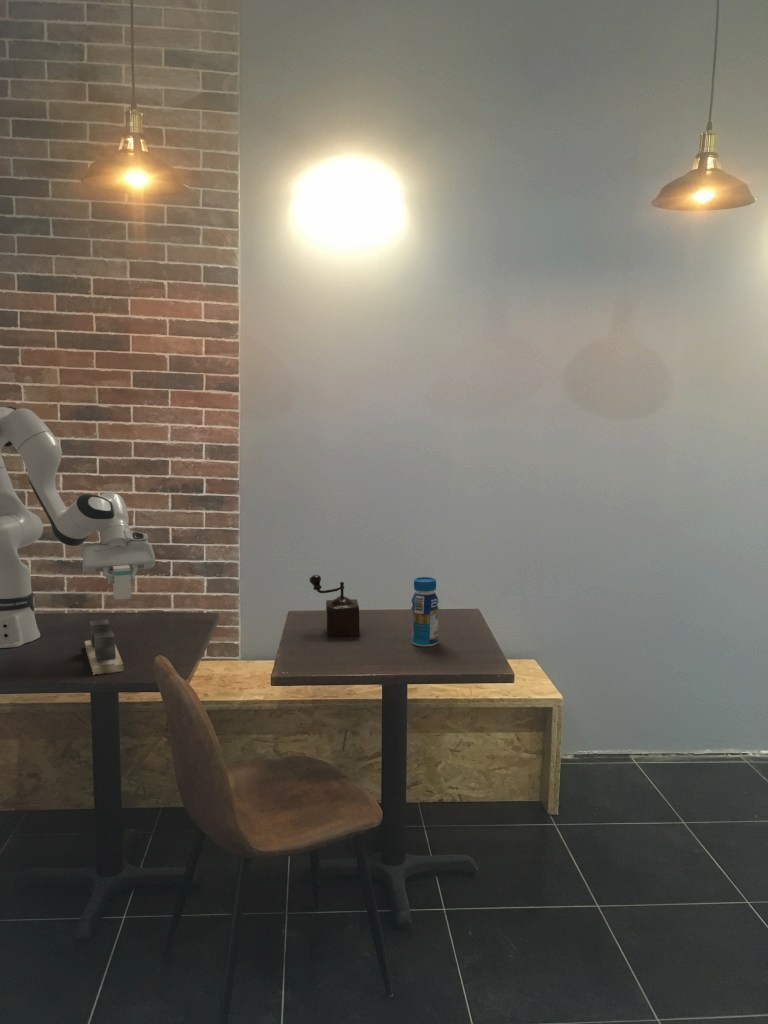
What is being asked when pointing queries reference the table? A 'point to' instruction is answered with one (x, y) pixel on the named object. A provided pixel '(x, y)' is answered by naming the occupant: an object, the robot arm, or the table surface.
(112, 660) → the rail board
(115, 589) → the block
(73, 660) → the table surface
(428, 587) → the beverage bottle
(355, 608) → the manual coffee grinder
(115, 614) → the table surface
